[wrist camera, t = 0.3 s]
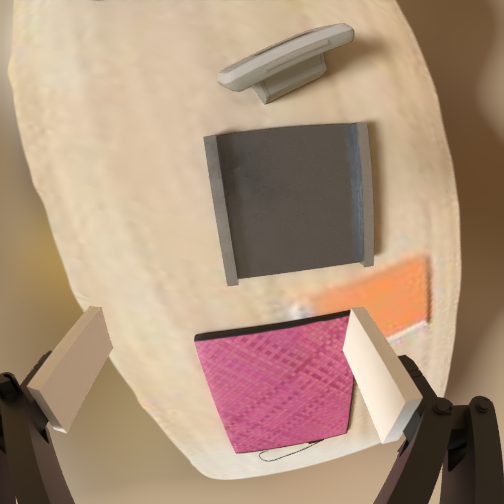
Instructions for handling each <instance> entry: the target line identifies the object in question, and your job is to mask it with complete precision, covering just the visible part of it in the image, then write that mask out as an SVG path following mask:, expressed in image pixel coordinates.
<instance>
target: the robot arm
mask: <svg viewBox="0 0 504 504" xmlns="http://www.w3.org/2000/svg"><path fill="white" fill-rule="evenodd" d="M112 349H113V346H112V343H111V340H110V337H109V333H108V330H107V326H106V323H105V319H104V315H103V311H102V307H92V306H90V307H89V308H88V309H87V310H86V312H85V313H84V314H83V315H82V316H81V317H80V319H79V320H78V321H77V322H76V323H75V325H74V326H73V327H72V328H71V329H70V331H69V332H68V333H67V334H66V336H65V337H64V338H63V339H62V340H61V342H60V343H59V344H58V345H57V347H56V348H55V349H54V350H53V351H49V352H48V353H46V354H45V355H43V356H42V357H41V359H40V360H39V361H38V364H36V365H35V366H34V368H33V370H31V372H30V373H29V374H28V376H27V377H26V378H25V380H24V381H23V382H22V384H21V385H19V384H18V382H17V380H16V378H15V376H14V375H13V374H12V373H9V372H5V373H1V374H0V504H16V499H17V502H18V504H75V503H74V500H73V498H72V496H71V494H70V491H69V489H68V486H67V484H66V482H65V479H64V476H63V474H62V471H61V468H60V465H59V462H58V460H57V456H56V453H55V450H54V447H53V444H52V440H51V437H50V433H49V430H48V428H47V427H46V425H47V423H48V421H49V422H50V424H51V425H52V426H53V428H54V429H56V430H58V431H61V432H64V433H68V430H69V428H70V426H71V424H72V422H73V420H74V418H75V416H76V414H77V412H78V411H79V409H80V407H81V405H82V403H83V401H84V399H85V397H86V395H87V393H88V391H89V390H90V388H91V386H92V384H93V382H94V380H95V379H96V377H97V375H98V373H99V371H100V370H101V368H102V366H103V364H104V362H105V361H106V359H107V357H108V355H109V354H110V352H111V350H112ZM343 352H344V354H345V356H346V359H347V361H348V363H349V366H350V368H351V370H352V372H353V375H354V377H355V379H356V382H357V384H358V386H359V389H360V391H361V393H362V396H363V398H364V400H365V403H366V405H367V408H368V410H369V413H370V415H371V417H372V420H373V422H374V425H375V427H376V430H377V432H378V435H379V437H380V440H381V442H382V444H384V443H388V442H392V441H396V440H398V439H399V438H400V436H401V434H402V433H403V432H404V434H405V437H406V440H405V441H404V443H403V444H402V445H401V447H400V448H399V450H398V452H399V454H398V456H397V459H396V461H395V463H394V465H393V467H392V470H391V471H390V474H389V475H388V478H387V479H386V482H385V483H384V485H383V487H382V489H381V491H380V493H379V494H378V496H377V498H376V500H375V501H374V503H373V504H428V503H429V500H430V498H431V495H432V493H433V490H434V487H435V484H436V482H437V479H438V476H439V473H440V470H441V467H442V463H443V469H442V484H441V495H440V504H504V473H503V460H502V451H501V444H500V436H499V430H498V424H497V419H496V414H495V409H494V406H493V403H492V402H491V401H490V400H489V399H488V398H486V397H483V396H476V397H474V398H472V400H471V402H470V403H469V405H457V406H454V405H453V404H452V403H451V402H450V401H449V400H447V399H445V398H441V397H437V395H436V394H435V392H434V391H433V389H432V388H431V386H430V385H429V383H428V382H427V380H426V379H425V377H424V376H423V374H422V373H421V371H420V370H419V368H418V367H417V365H416V364H415V362H414V361H413V360H412V359H410V358H409V357H407V356H406V355H402V356H397V355H396V353H395V352H394V350H393V349H392V347H391V346H390V344H389V343H388V341H387V340H386V338H385V337H384V335H383V334H382V332H381V331H380V329H379V328H378V326H377V325H376V323H375V322H374V321H373V319H372V318H371V316H370V315H369V313H368V312H367V310H366V309H365V307H363V308H351V312H350V317H349V322H348V327H347V332H346V337H345V342H344V347H343Z"/></svg>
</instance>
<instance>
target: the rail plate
mask: <svg viewBox="0 0 504 504" xmlns="http://www.w3.org/2000/svg"><path fill="white" fill-rule="evenodd" d="M204 144H205V151H206V158H207V165H208V172H209V178H210V185H211V191H212V197H213V204H214V210H215V216H216V222H217V228H218V234H219V240H220V246H221V251H222V257H223V263H224V268H225V274H226V280H227V285H228V286H234V285H239V279H242V278H250V277H258V276H266V275H273V274H281V273H288V272H295V271H302V270H310V269H317V268H324V267H330V266H337V265H344V264H351V263H357V262H360V263H361V264H362V265H363V266H364V267H369V266H374V204H373V182H372V167H371V154H370V144H369V134H368V126H367V123H354V124H333V125H312V126H297V127H285V128H274V129H264V130H256V131H248V132H240V133H233V134H226V135H220V136H217V135H211V136H206V137H204Z"/></svg>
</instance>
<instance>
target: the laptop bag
mask: <svg viewBox="0 0 504 504" xmlns="http://www.w3.org/2000/svg"><path fill="white" fill-rule="evenodd" d="M350 312H351V310H348V311H344V312H339V313H334V314H328V315H323V316H318V317H312V318H307V319H301V320H296V321H290V322H284V323H278V324H272V325H265V326H259V327H251V328H244V329H236V330H228V331H219V332H211V333H203V334H198V335H195V338H194V342H195V345H196V349H197V352H198V356H199V359H200V362H201V365H202V368H203V371H204V374H205V377H206V380H207V383H208V386H209V388H210V391H211V394H212V397H213V399H214V402H215V405H216V407H217V410H218V413H219V415H220V418H221V420H222V423H223V425H224V428H225V430H226V432H227V435H228V437H229V440H230V442H231V444H232V446H233V448H234V451H235V453H248V452H256V451H263V450H269V449H275V448H281V447H287V446H292V445H298V444H303V443H309V444H311V443H315V442H317V443H318V442H320V441H322V440H324V439H326V438H330V437H334V436H338V435H342V434H346V433H347V431H348V425H349V418H350V411H351V403H352V395H353V386H354V375H353V372H352V370H351V368H350V366H349V363H348V361H347V359H346V356H345V354H344V352H343V347H344V342H345V337H346V332H347V327H348V322H349V317H350ZM315 444H316V443H315ZM313 445H314V444H313ZM311 446H312V445H311ZM309 447H310V446H309ZM307 448H308V447H307ZM304 449H306V448H304ZM304 449H302V450H304ZM300 451H301V450H300ZM264 452H266V451H264ZM297 452H299V451H297ZM262 453H263V452H262ZM295 453H296V452H295ZM260 454H261V453H260ZM260 454H259V455H260ZM292 454H293V453H292ZM289 455H291V454H289ZM286 456H288V455H286ZM259 457H260V456H259ZM283 457H285V456H283ZM280 458H282V457H280ZM278 459H279V458H278ZM262 460H263V459H262ZM275 460H277V459H275ZM264 461H266V460H264ZM271 461H274V460H271Z"/></svg>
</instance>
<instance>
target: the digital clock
mask: <svg viewBox="0 0 504 504" xmlns="http://www.w3.org/2000/svg"><path fill="white" fill-rule="evenodd" d="M353 38H354V30H353V28H352V27H350V26H348V25H346V24H344V23H340V24H335V25H329V26H325V27H320V28H316V29H312V30H308V31H305V32H303V33H300V34H297V35H295V36H292V37H290V38H288V39H285V40H283V41H281V42H278V43H276V44H274V45H271V46H269V47H267V48H265V49H263V50H261V51H259V52H256V53H254V54H252V55H250V56H248V57H246V58H244V59H242V60H240V61H238V62H236V63H235V64H233V65H231V66H229V67H227V68H225V69H224V70H222V71H221V72H219V73H218V79H217V81H218V82H219V84H220V85H222V86H224V87H226V88H228V89H230V90H232V91H236V92H240V91H243V90H245V89H247V88H249V87H251V86H252V87H253V88H254V90H255V91H256V93H257V94H258V96H259V97H260V99H261V100H262V102H263V103H264V104H267V103H269V102H271V101H273V100H275V99H276V98H278V97H280V96H282V95H284V94H286V93H288V92H290V91H292V90H294V89H296V88H299V87H301V86H303V85H305V84H307V83H309V82H311V81H313V80H316V79H318V78H320V77H321V76H322V75H323V74H324V73H325V72H326V70H327V67H326V64H325V61H324V52H326V51H329V50H331V49H334V48H337V47H339V46H342V45H345V44H347V43H350V42H352V41H353Z"/></svg>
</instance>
